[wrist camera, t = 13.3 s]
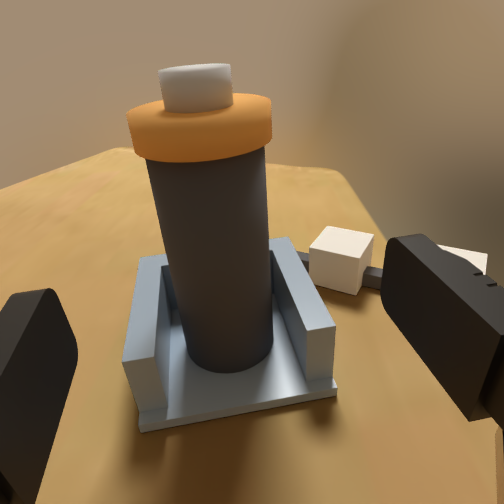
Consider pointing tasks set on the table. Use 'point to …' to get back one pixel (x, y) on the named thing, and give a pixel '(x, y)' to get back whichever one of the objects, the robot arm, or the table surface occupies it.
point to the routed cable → (355, 260)
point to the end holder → (221, 384)
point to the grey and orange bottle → (212, 210)
